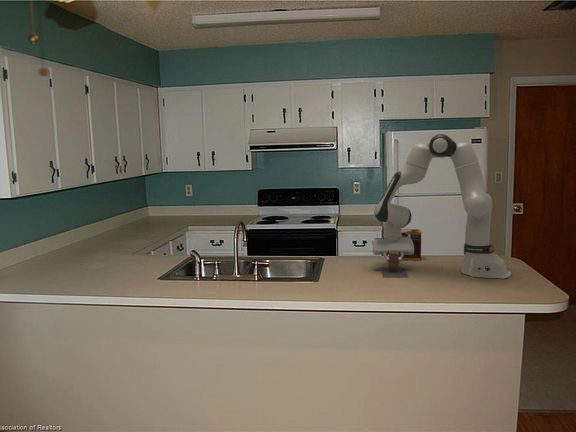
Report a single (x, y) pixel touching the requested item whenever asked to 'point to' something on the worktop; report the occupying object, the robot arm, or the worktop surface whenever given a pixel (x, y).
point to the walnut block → (393, 260)
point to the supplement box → (416, 238)
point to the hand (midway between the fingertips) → (394, 261)
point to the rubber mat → (393, 273)
